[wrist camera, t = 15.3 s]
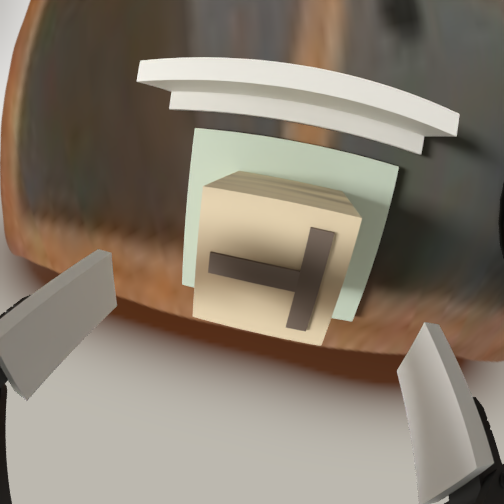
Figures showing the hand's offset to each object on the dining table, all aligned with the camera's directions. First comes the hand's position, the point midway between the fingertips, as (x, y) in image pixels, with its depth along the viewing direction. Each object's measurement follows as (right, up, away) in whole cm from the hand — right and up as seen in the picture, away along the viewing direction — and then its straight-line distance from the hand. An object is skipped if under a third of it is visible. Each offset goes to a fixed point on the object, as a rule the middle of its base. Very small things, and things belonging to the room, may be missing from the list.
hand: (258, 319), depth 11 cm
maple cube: (+2, +4, +12) cm, 13 cm away
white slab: (+3, +14, +9) cm, 17 cm away
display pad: (+2, +5, +13) cm, 14 cm away
